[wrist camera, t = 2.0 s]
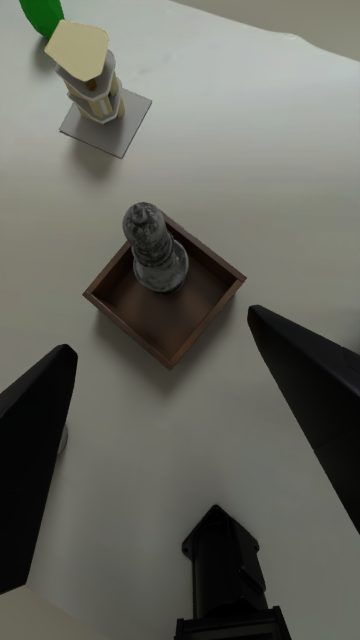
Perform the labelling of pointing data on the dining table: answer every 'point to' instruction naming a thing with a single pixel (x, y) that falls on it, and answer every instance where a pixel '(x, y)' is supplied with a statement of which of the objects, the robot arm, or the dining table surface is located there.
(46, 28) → the polyhedron
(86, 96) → the stacked layers on plate
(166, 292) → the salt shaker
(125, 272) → the wooden box
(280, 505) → the dining table surface
